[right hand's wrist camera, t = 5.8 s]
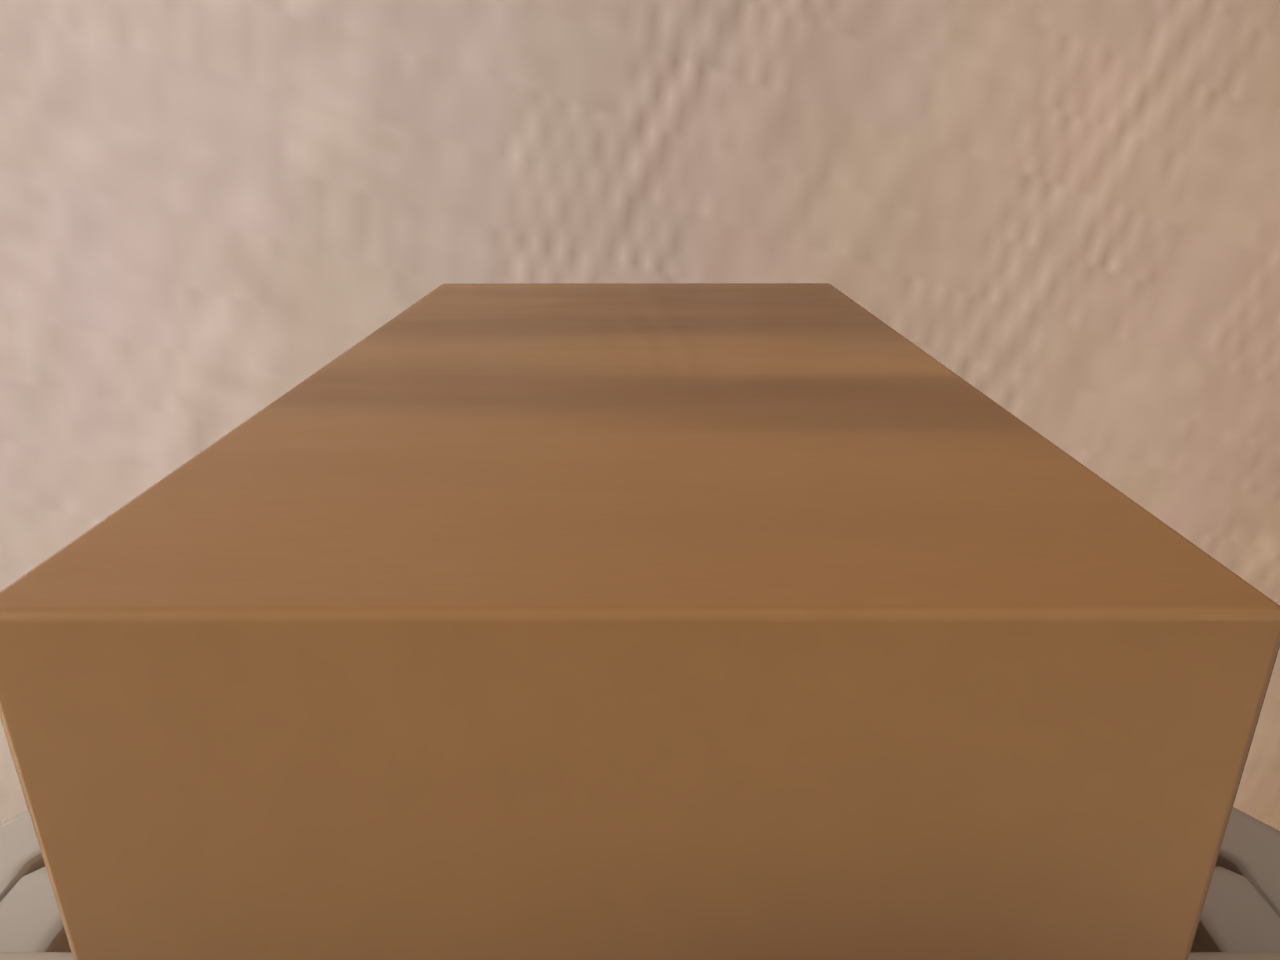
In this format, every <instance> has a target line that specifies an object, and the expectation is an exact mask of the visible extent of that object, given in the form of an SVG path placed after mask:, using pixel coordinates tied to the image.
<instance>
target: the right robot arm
mask: <svg viewBox="0 0 1280 960" xmlns="http://www.w3.org/2000/svg"><path fill="white" fill-rule="evenodd" d="M0 960H74V959H73V956H72V952H71V949H70V946H69V942H68V939H67V936H66V933H65V929H64V926H63V923H62V919H61V916H60V913H59V910H58V906H57V903H56V900H55V896H54V893H53V890H52V886H51V883H50V880H49V877H48V873H47V870H46V867H45V863H44V860H43V857H42V854H41V850H40V847H39V844H38V840H37V837H36V834H35V830H34V827H33V824H32V821H31V817H30V814H29V811H27V812H25V813H23V814H21V815H19V816H17V817H15V818H13V819H11V820H9V821H7V822H5V823H3V824H1V825H0ZM1188 960H1280V831H1278V830H1276V829H1275V828H1273V827H1271V826H1269V825H1267V824H1265V823H1263V822H1261V821H1259V820H1257V819H1255V818H1253V817H1251V816H1249V815H1247V814H1245V813H1243V812H1241V811H1239V810H1238V809H1236V808H1234V807H1232V811H1231V814H1230V818H1229V821H1228V825H1227V828H1226V831H1225V835H1224V838H1223V842H1222V845H1221V848H1220V852H1219V855H1218V859H1217V862H1216V866H1215V869H1214V872H1213V876H1212V879H1211V883H1210V886H1209V889H1208V893H1207V896H1206V900H1205V903H1204V907H1203V910H1202V913H1201V917H1200V920H1199V924H1198V927H1197V930H1196V934H1195V937H1194V941H1193V944H1192V948H1191V951H1190V954H1189V958H1188Z"/></svg>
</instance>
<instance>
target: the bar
mask: <svg viewBox="0 0 1280 960" xmlns="http://www.w3.org/2000/svg"><path fill="white" fill-rule="evenodd" d="M1279 647H1280V606H1279V605H1278V604H1277V603H1275V602H1274V601H1272V600H1271V599H1270V598H1268V597H1267V596H1265V595H1264V594H1263V593H1261V592H1260V591H1259V590H1257V589H1256V588H1254V587H1253V586H1252V585H1250V584H1249V583H1247V582H1246V581H1245V580H1243V579H1242V578H1240V577H1239V576H1238V575H1236V574H1235V573H1233V572H1232V571H1231V570H1229V569H1228V568H1226V567H1225V566H1224V565H1222V564H1221V563H1219V562H1218V561H1217V560H1215V559H1214V558H1212V557H1211V556H1210V555H1208V554H1207V553H1205V552H1204V551H1203V550H1201V549H1200V548H1198V547H1197V546H1196V545H1194V544H1193V543H1191V542H1190V541H1189V540H1187V539H1186V538H1184V537H1183V536H1182V535H1180V534H1179V533H1177V532H1176V531H1175V530H1173V529H1172V528H1170V527H1169V526H1168V525H1166V524H1165V523H1163V522H1162V521H1161V520H1159V519H1158V518H1156V517H1155V516H1154V515H1152V514H1151V513H1149V512H1148V511H1147V510H1145V509H1144V508H1142V507H1141V506H1140V505H1138V504H1137V503H1135V502H1134V501H1133V500H1131V499H1130V498H1128V497H1127V496H1126V495H1124V494H1123V493H1121V492H1120V491H1119V490H1117V489H1116V488H1114V487H1113V486H1112V485H1110V484H1109V483H1108V482H1106V481H1105V480H1103V479H1102V478H1101V477H1099V476H1098V475H1096V474H1095V473H1094V472H1092V471H1091V470H1089V469H1088V468H1087V467H1085V466H1084V465H1082V464H1081V463H1080V462H1078V461H1077V460H1075V459H1074V458H1073V457H1071V456H1070V455H1068V454H1067V453H1066V452H1064V451H1063V450H1061V449H1060V448H1059V447H1057V446H1056V445H1054V444H1053V443H1052V442H1050V441H1049V440H1047V439H1046V438H1045V437H1043V436H1042V435H1040V434H1039V433H1038V432H1036V431H1035V430H1033V429H1032V428H1031V427H1029V426H1028V425H1026V424H1025V423H1024V422H1022V421H1021V420H1019V419H1018V418H1017V417H1015V416H1014V415H1012V414H1011V413H1010V412H1008V411H1007V410H1005V409H1004V408H1003V407H1001V406H1000V405H998V404H997V403H996V402H994V401H993V400H991V399H990V398H989V397H987V396H986V395H984V394H983V393H982V392H980V391H979V390H977V389H976V388H975V387H973V386H972V385H970V384H969V383H968V382H966V381H965V380H963V379H962V378H961V377H959V376H958V375H956V374H955V373H954V372H952V371H951V370H950V369H948V368H947V367H945V366H944V365H943V364H941V363H940V362H938V361H937V360H936V359H934V358H933V357H931V356H930V355H929V354H927V353H926V352H924V351H923V350H922V349H920V348H919V347H917V346H916V345H915V344H913V343H912V342H910V341H909V340H908V339H906V338H905V337H903V336H902V335H901V334H899V333H898V332H896V331H895V330H894V329H892V328H891V327H889V326H888V325H887V324H885V323H884V322H882V321H881V320H880V319H878V318H877V317H875V316H874V315H873V314H871V313H870V312H868V311H867V310H866V309H864V308H863V307H861V306H860V305H859V304H857V303H856V302H854V301H853V300H852V299H850V298H849V297H847V296H846V295H845V294H843V293H842V292H840V291H839V290H838V289H836V288H835V287H833V286H832V285H830V284H443V285H441V286H439V287H438V288H436V289H435V290H434V291H432V292H431V293H429V294H428V295H426V296H425V297H424V298H422V299H421V300H419V301H418V302H416V303H415V304H413V305H412V306H411V307H409V308H408V309H406V310H405V311H403V312H402V313H400V314H399V315H398V316H396V317H395V318H393V319H392V320H390V321H389V322H388V323H386V324H385V325H383V326H382V327H380V328H379V329H377V330H376V331H375V332H373V333H372V334H370V335H369V336H367V337H366V338H365V339H363V340H362V341H360V342H359V343H357V344H356V345H354V346H353V347H352V348H350V349H349V350H347V351H346V352H344V353H343V354H342V355H340V356H339V357H337V358H336V359H334V360H333V361H331V362H330V363H329V364H327V365H326V366H324V367H323V368H321V369H320V370H318V371H317V372H316V373H314V374H313V375H311V376H310V377H308V378H307V379H306V380H304V381H303V382H301V383H300V384H298V385H297V386H295V387H294V388H293V389H291V390H290V391H288V392H287V393H285V394H284V395H283V396H281V397H280V398H278V399H277V400H275V401H274V402H272V403H271V404H270V405H268V406H267V407H265V408H264V409H262V410H261V411H260V412H258V413H257V414H255V415H254V416H252V417H251V418H249V419H248V420H247V421H245V422H244V423H242V424H241V425H239V426H238V427H236V428H235V429H234V430H232V431H231V432H229V433H228V434H226V435H225V436H224V437H222V438H221V439H219V440H218V441H216V442H215V443H213V444H212V445H211V446H209V447H208V448H206V449H205V450H203V451H202V452H201V453H199V454H198V455H196V456H195V457H193V458H192V459H190V460H189V461H188V462H186V463H185V464H183V465H182V466H180V467H179V468H178V469H176V470H175V471H173V472H172V473H170V474H169V475H167V476H166V477H165V478H163V479H162V480H160V481H159V482H157V483H156V484H155V485H153V486H152V487H150V488H149V489H147V490H146V491H144V492H143V493H142V494H140V495H139V496H137V497H136V498H134V499H133V500H131V501H130V502H129V503H127V504H126V505H124V506H123V507H121V508H120V509H119V510H117V511H116V512H114V513H113V514H111V515H110V516H108V517H107V518H106V519H104V520H103V521H101V522H100V523H98V524H97V525H96V526H94V527H93V528H91V529H90V530H88V531H87V532H85V533H84V534H83V535H81V536H80V537H78V538H77V539H75V540H74V541H73V542H71V543H70V544H68V545H67V546H65V547H64V548H62V549H61V550H60V551H58V552H57V553H55V554H54V555H52V556H51V557H49V558H48V559H47V560H45V561H44V562H42V563H41V564H39V565H38V566H37V567H35V568H34V569H32V570H31V571H29V572H28V573H26V574H25V575H24V576H22V577H21V578H19V579H18V580H16V581H15V582H14V583H12V584H11V585H9V586H8V587H6V588H5V589H3V590H2V591H1V592H0V718H1V722H2V725H3V728H4V732H5V735H6V738H7V741H8V745H9V748H10V751H11V755H12V758H13V761H14V765H15V768H16V771H17V774H18V778H19V781H20V784H21V788H22V791H23V794H24V797H25V801H26V804H27V807H28V811H29V814H30V817H31V821H32V824H33V827H34V830H35V834H36V837H37V840H38V844H39V847H40V850H41V854H42V857H43V860H44V863H45V867H46V870H47V873H48V877H49V880H50V883H51V886H52V890H53V893H54V896H55V900H56V903H57V906H58V910H59V913H60V916H61V919H62V923H63V926H64V929H65V933H66V936H67V939H68V942H69V946H70V949H71V952H72V956H73V959H74V960H1188V958H1189V954H1190V951H1191V948H1192V944H1193V941H1194V937H1195V934H1196V930H1197V927H1198V924H1199V920H1200V917H1201V913H1202V910H1203V907H1204V903H1205V900H1206V896H1207V893H1208V889H1209V886H1210V883H1211V879H1212V876H1213V872H1214V869H1215V866H1216V862H1217V859H1218V855H1219V852H1220V848H1221V845H1222V842H1223V838H1224V835H1225V831H1226V828H1227V825H1228V821H1229V818H1230V814H1231V811H1232V807H1233V804H1234V801H1235V797H1236V794H1237V790H1238V787H1239V784H1240V780H1241V777H1242V773H1243V770H1244V766H1245V763H1246V760H1247V756H1248V753H1249V749H1250V746H1251V743H1252V739H1253V736H1254V732H1255V729H1256V725H1257V722H1258V719H1259V715H1260V712H1261V708H1262V705H1263V702H1264V698H1265V695H1266V691H1267V688H1268V684H1269V681H1270V678H1271V674H1272V671H1273V667H1274V664H1275V661H1276V657H1277V654H1278V650H1279Z"/></svg>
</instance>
